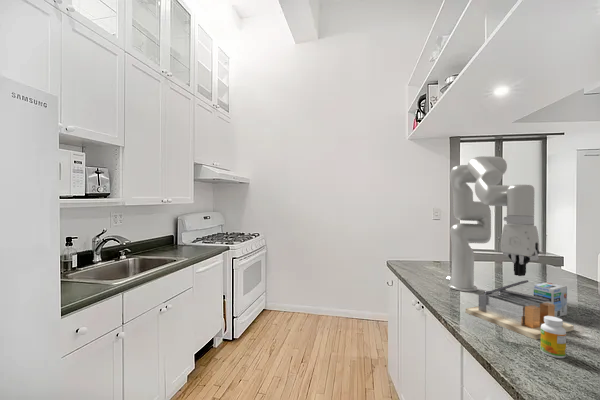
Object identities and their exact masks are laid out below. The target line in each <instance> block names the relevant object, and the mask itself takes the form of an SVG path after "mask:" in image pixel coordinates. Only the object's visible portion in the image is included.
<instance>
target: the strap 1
mask: <svg viewBox="0 0 600 400" xmlns="http://www.w3.org/2000/svg"><path fill="white" fill-rule="evenodd" d="M526 283H529V280H522V281H518V282H515V283H512V284H509V285H505V286H502V287H499V288H494V289H492V290H486V291H484V292H483V294H485V295H489V294H492V293H495V292H499V291H500V290H504V289H506V290H508V289H510V288H513V287H517V286H520V285H524V284H526Z"/></svg>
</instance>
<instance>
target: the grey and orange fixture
mask: <svg viewBox="0 0 600 400" xmlns="http://www.w3.org/2000/svg"><path fill="white" fill-rule="evenodd" d="M478 306H479V311H482V312H485V313H488V314H490V315H493V316H496V317H499V318H501V319H504V320H507V321H510V322H512V323H515V324H518V325H521V326H523V325H525V326H527V327H530V328H537V327H540V323H543V324H544V323H545V322H544V316H553V317H555V305H554V304H550V303H545V302H542V301H538V300H534V299H530V298H525V297H521V296H517V295H512V294H508V293H503V292H502V293H499V291H497V292H493V293H492V294H489V295H485V294H484V293H482V294H478Z"/></svg>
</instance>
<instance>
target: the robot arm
mask: <svg viewBox="0 0 600 400" xmlns="http://www.w3.org/2000/svg"><path fill="white" fill-rule="evenodd" d="M507 169H508V163H507V161H506V160H505V159H504V158H503V157H501V156H487V155H486V156H485V155H484V156H475V157H473V158H471V159H470V160H469V161H468V163H467V164H461V165H460V164H459V165H455V166H453V167H452V168H451V170H450V173H449V181H450V182H449V183H450V185H451V188H452V193H453V194H452V195H453V196H452V197H453V198H452V199H453V200H452V201H453V203H452V204H453V206H452V207H453V210H452V211H453V217H454V219H455V220H458V221H464V223H461V222H460V223H455V224H452V226H451V227H450V230H449V235H450V239H451V240H450V241H451V242H450V243H451V275H447V277H446V278H445V280H446V281H448V282H449V283H448V284H447V286H448V288H450V289H452V290H455V291H459V292H468V293H469V292H473V293H474V292H476V291H478V286H476V285H474V284H475V283H474V281H475V253H474V250H473V248H472V247H471V246H470V244H487V243H489V242H490V241H491V237H492V211H491V207H492V206H493V207H494V206H495V207H506V216H504V217H503V221H504V222H506V223H505V224H503V228H502V232H501V238H500V239H501V241H500V251H501V252H502V255H503V256H505V257H507V258H509V259H510V260H511V262H512V264H513V273H514V274H513V275H514V276H518V277H524V276H526V274H527V265H528V264H529V262H531V261H538V260H539V259H540V258H539V254H540V238H539V231H538V229H537V225H535V187H534V186H533V185H531V184H511V185H505V184H504V185H500V183H501V180H502V178H503V175H505V173H506V171H507ZM469 183H470V184H474V192H473V189H472V188H471V187H470V186H469ZM474 193H475V195H476V197H477V198H478V200H480V201H478V200H477V201H475V200H474ZM490 206H491V207H490ZM465 221H466V222H467V221H468V223H465ZM470 221H471V222H476V223H469V222H470Z"/></svg>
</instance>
